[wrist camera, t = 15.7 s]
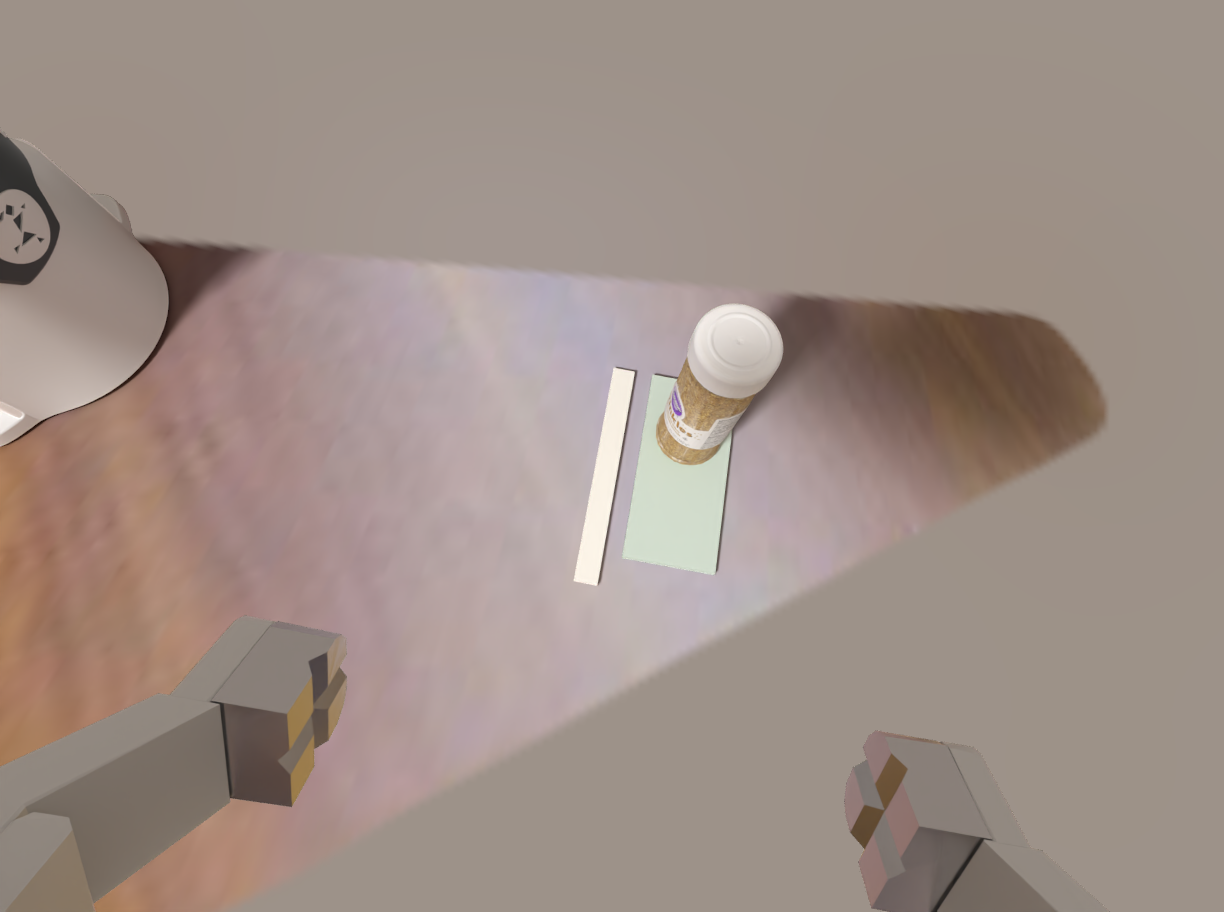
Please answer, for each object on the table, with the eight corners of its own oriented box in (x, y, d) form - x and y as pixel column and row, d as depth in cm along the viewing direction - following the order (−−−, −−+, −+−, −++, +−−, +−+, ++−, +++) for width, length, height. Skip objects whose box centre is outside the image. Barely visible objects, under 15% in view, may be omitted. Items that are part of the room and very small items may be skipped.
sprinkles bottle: (642, 422, 45) (677, 321, 33) (699, 394, 46) (754, 286, 34) (676, 479, 44) (725, 398, 32) (733, 450, 45) (804, 359, 33)
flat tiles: (573, 581, 42) (573, 580, 42) (613, 369, 47) (613, 367, 46) (709, 606, 42) (711, 605, 42) (735, 392, 47) (736, 390, 47)
